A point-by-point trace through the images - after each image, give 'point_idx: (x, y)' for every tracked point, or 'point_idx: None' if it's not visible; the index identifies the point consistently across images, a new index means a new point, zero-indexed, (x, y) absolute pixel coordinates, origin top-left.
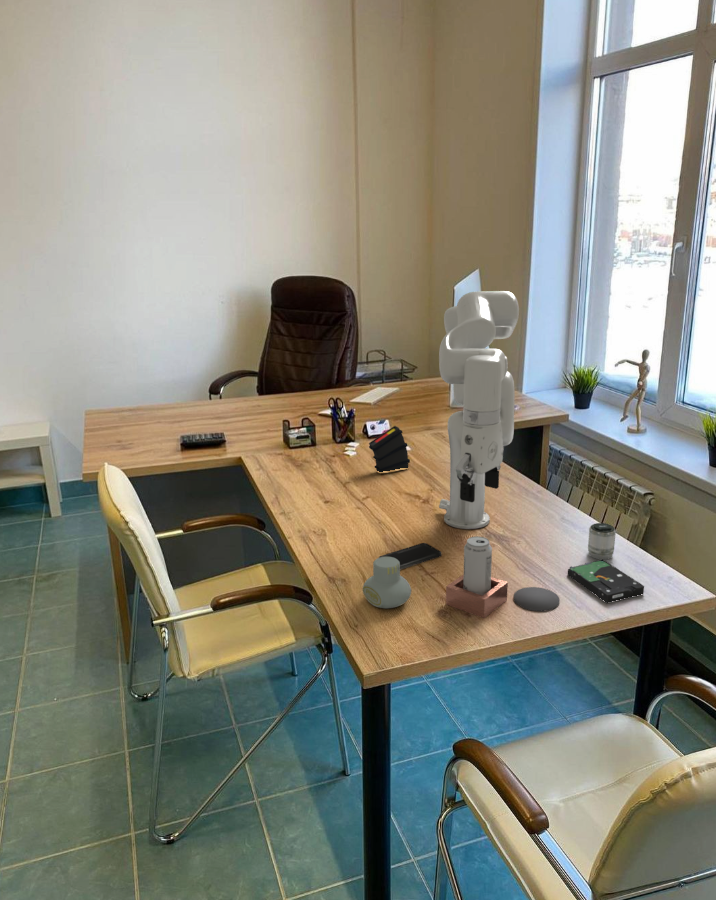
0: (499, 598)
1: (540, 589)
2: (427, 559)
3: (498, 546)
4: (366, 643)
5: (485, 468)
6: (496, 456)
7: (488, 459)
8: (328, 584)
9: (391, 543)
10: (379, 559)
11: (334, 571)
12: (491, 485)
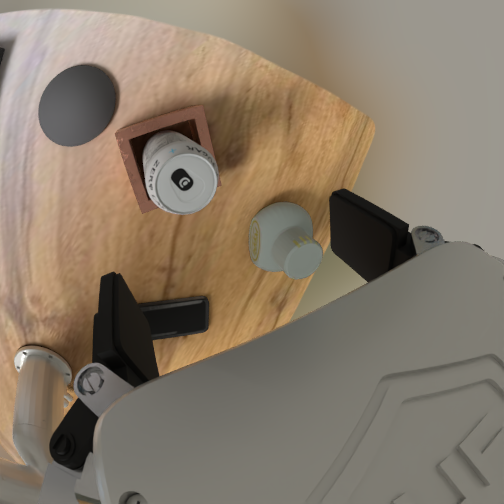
0: (144, 121)
1: (48, 127)
2: (147, 304)
3: (27, 292)
4: (349, 163)
5: (442, 275)
6: (301, 463)
7: (475, 350)
8: (291, 297)
9: (164, 356)
10: (306, 273)
11: (266, 320)
12: (132, 302)
